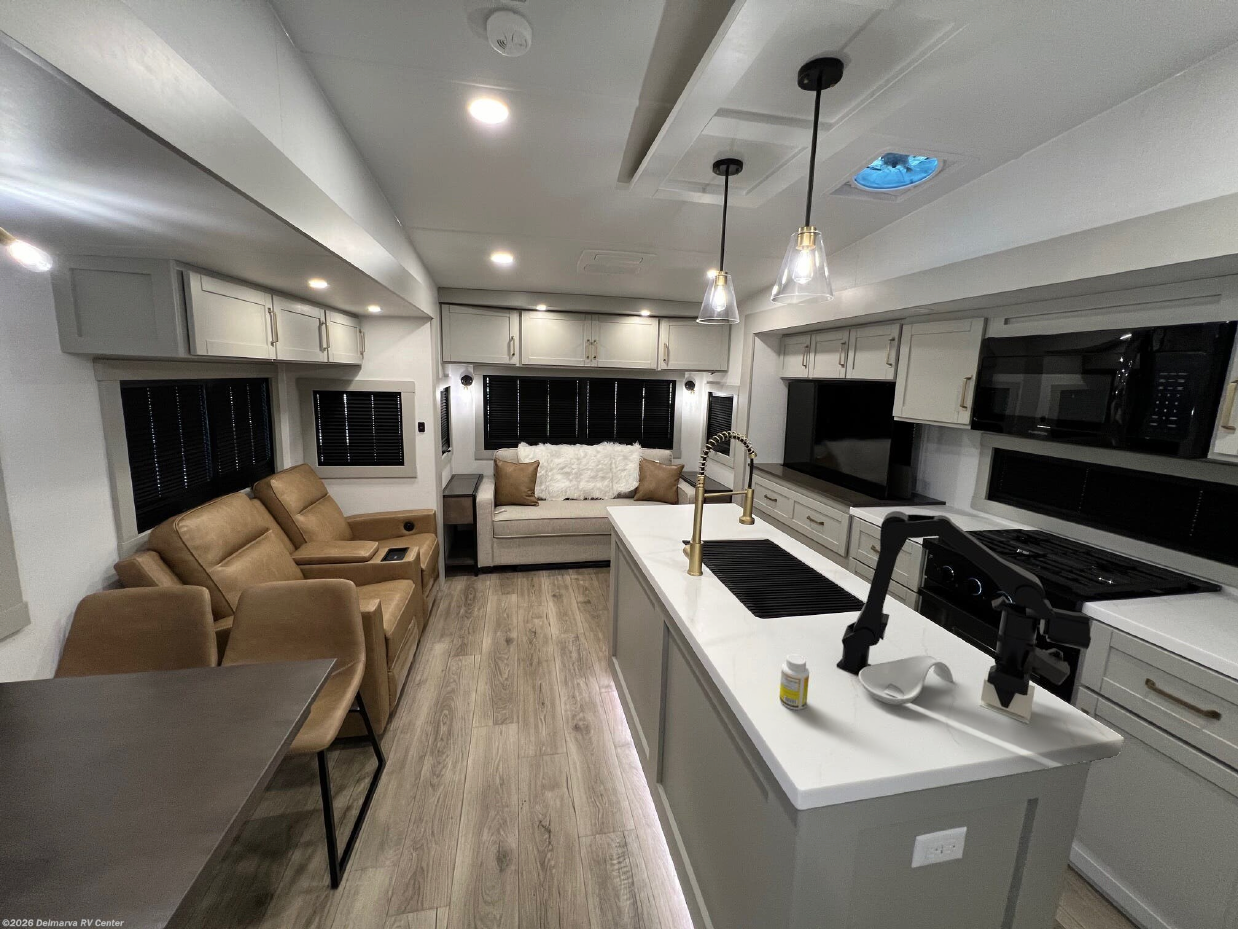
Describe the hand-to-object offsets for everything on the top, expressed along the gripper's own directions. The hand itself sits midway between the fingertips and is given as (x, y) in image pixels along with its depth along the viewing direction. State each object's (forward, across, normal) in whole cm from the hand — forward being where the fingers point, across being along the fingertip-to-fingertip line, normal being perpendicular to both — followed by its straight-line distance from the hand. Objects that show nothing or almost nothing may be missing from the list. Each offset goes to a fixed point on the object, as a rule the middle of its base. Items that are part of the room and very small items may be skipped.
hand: (1005, 702), depth 101 cm
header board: (+2, +4, 0) cm, 5 cm away
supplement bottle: (+3, -29, +33) cm, 44 cm away
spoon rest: (+3, -6, +17) cm, 18 cm away
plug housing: (0, 0, 0) cm, 1 cm away
